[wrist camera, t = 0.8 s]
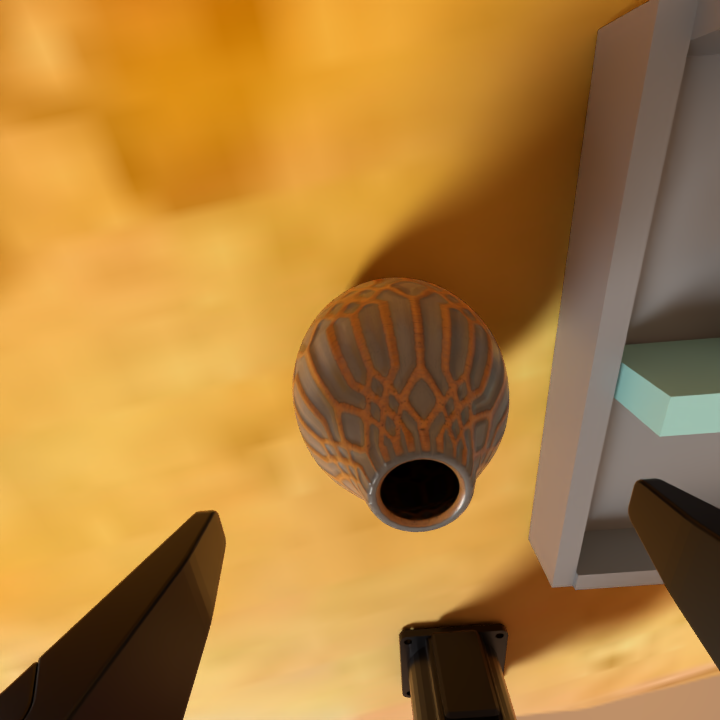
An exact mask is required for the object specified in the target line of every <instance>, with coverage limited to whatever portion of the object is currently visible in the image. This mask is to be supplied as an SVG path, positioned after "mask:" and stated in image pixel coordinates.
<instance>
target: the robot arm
mask: <svg viewBox="0 0 720 720" xmlns="http://www.w3.org/2000/svg"><path fill="white" fill-rule="evenodd" d="M628 514H629V518H630V520H631V522H632V524H633V526H634V528H635V530H636V532H637V534H638V536H639V537H640V539H641V541H642V543H643V545H644V547H645V549H646V551H647V553H648V555H649V556H650V558H651V560H652V562H653V564H654V566H655V568H656V570H657V572H658V573H659V575H660V577H661V579H662V581H663V583H664V584H665V586H666V588H667V590H668V591H669V593H670V595H671V596H672V598H673V600H674V601H675V603H676V604H677V606H678V607H679V609H680V610H681V612H682V614H683V615H684V617H685V618H686V620H687V621H688V623H689V624H690V626H691V627H692V629H693V630H694V632H695V634H696V635H697V637H698V638H699V640H700V641H701V643H702V644H703V646H704V647H705V649H706V650H707V652H708V654H709V655H710V657H711V658H712V660H713V661H714V663H715V664H716V666H717V667H718V669H719V671H720V509H719V508H717V507H715V506H713V505H711V504H709V503H707V502H705V501H703V500H701V499H699V498H697V497H695V496H693V495H691V494H689V493H687V492H685V491H683V490H681V489H679V488H677V487H675V486H673V485H671V484H669V483H667V482H665V481H663V480H661V479H658V478H650V479H639V480H637V481H636V482H635V484H634V487H633V491H632V495H631V498H630V502H629V506H628ZM225 547H226V540H225V535H224V531H223V528H222V524H221V521H220V518H219V515H218V513H217V511H214V510H208V511H198V512H196V513H195V514H193V515H192V516H191V517H190V518H189V519H188V520H187V521H186V522H185V523H184V524H183V525H182V526H181V527H179V528H178V529H177V530H176V531H175V532H174V533H173V534H172V535H171V536H170V537H169V538H168V539H167V540H165V541H164V542H163V543H162V544H161V545H160V546H159V547H158V548H157V549H156V550H155V551H154V552H153V553H152V554H150V555H149V556H148V557H147V558H146V559H145V560H144V561H143V562H142V563H141V564H140V565H139V566H138V567H136V568H135V569H134V570H133V571H132V572H131V573H130V574H129V575H128V576H127V577H126V578H125V579H124V580H122V581H121V582H120V583H119V584H118V585H117V586H116V587H115V588H114V589H113V590H112V591H111V592H110V593H109V594H107V595H106V596H105V597H104V598H103V599H102V600H101V601H100V602H99V603H98V604H97V605H96V606H95V607H93V608H92V609H91V610H90V611H89V612H88V613H87V614H86V615H85V616H84V617H83V618H82V619H81V620H80V621H78V622H77V623H76V624H75V625H74V626H73V627H72V628H71V629H70V630H69V631H68V632H67V633H66V634H64V635H63V636H62V637H61V638H60V639H59V640H58V641H57V642H56V643H55V644H54V645H53V646H52V647H50V648H49V649H48V650H47V651H46V652H45V653H44V654H43V655H42V656H41V657H40V658H39V660H38V662H35V663H33V664H32V665H31V666H30V667H29V668H28V669H27V670H26V671H24V672H23V673H22V674H21V675H20V676H19V677H18V678H17V679H16V680H15V681H14V682H13V683H12V684H10V685H9V686H8V687H7V688H6V689H5V690H4V691H3V692H2V693H1V694H0V720H183V718H184V714H185V711H186V708H187V704H188V701H189V697H190V694H191V691H192V687H193V684H194V680H195V677H196V674H197V670H198V667H199V663H200V660H201V657H202V653H203V650H204V646H205V643H206V640H207V636H208V633H209V629H210V625H211V621H212V616H213V612H214V607H215V601H216V596H217V591H218V585H219V580H220V574H221V569H222V564H223V558H224V553H225ZM507 639H508V633H507V630H506V627H505V626H504V625H502V624H489V625H475V626H460V627H446V628H431V629H416V630H405V631H402V632H401V633H400V634H399V644H400V661H401V679H402V692H403V696H405V697H409V698H411V703H412V712H413V720H517V719H516V716H515V713H514V709H513V706H512V703H511V699H510V696H509V693H508V689H507V686H506V683H505V679H504V676H503V672H504V664H505V656H506V647H507Z"/></svg>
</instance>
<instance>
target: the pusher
mask: <svg viewBox="0 0 720 720" xmlns="http://www.w3.org/2000/svg"><path fill="white" fill-rule="evenodd" d="M614 398H615V399H616V400H617V401H619V402H620V403H621V404H622V405H623V406H624V407H626V408H627V409H628V410H629V411H630V412H631V413H633V414H634V415H635V416H636V417H637V418H638V419H640V420H641V421H642V422H643V423H644V424H645V425H647V426H648V427H649V428H650V429H651V430H652V431H653V432H655V433H656V434H657V435H658V436H659V437H662V436H676V435H689V434H703V433H716V432H720V338H707V339H694V340H681V341H668V342H655V343H642V344H629V345H625V346H624V351H623V356H622V360H621V365H620V369H619V374H618V379H617V383H616V388H615V393H614Z"/></svg>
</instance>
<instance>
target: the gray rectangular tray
mask: <svg viewBox="0 0 720 720" xmlns="http://www.w3.org/2000/svg"><path fill="white" fill-rule="evenodd" d="M707 338H720V0H649V1H648V2H646V3H644V4H642V5H641V6H639V7H637V8H635V9H634V10H632V11H630V12H628V13H627V14H625V15H623V16H621V17H620V18H618V19H616V20H614V21H613V22H611V23H609V24H607V25H606V26H604V27H602V28H600V29H599V30H598V35H597V42H596V49H595V57H594V64H593V71H592V79H591V86H590V93H589V101H588V108H587V115H586V123H585V130H584V137H583V145H582V152H581V159H580V166H579V174H578V181H577V188H576V196H575V203H574V210H573V218H572V225H571V232H570V240H569V247H568V254H567V261H566V269H565V276H564V283H563V291H562V298H561V305H560V313H559V320H558V327H557V335H556V342H555V349H554V356H553V364H552V371H551V378H550V386H549V393H548V400H547V408H546V415H545V422H544V430H543V437H542V444H541V452H540V459H539V466H538V473H537V481H536V488H535V495H534V503H533V510H532V517H531V525H530V532H529V541H530V543H531V546H532V548H533V550H534V552H535V554H536V556H537V558H538V560H539V562H540V564H541V566H542V568H543V570H544V572H545V575H546V577H547V579H548V581H549V583H550V585H551V587H552V588H553V587H567V586H573V587H574V589H575V590H583V589H597V588H611V587H626V586H640V585H655V584H664V583H663V581H662V579H661V577H660V575H659V573H658V572H657V570H656V568H655V566H654V564H653V562H652V560H651V558H650V556H649V555H648V553H647V551H646V549H645V547H644V545H643V543H642V541H641V539H640V537H639V536H638V534H637V532H636V530H635V528H634V526H633V524H632V522H631V520H630V518H629V514H628V506H629V502H630V498H631V495H632V491H633V487H634V484H635V482H636V481H637V480H639V479H650V478H658V479H661V480H663V481H665V482H667V483H669V484H671V485H673V486H675V487H677V488H679V489H681V490H683V491H685V492H687V493H689V494H691V495H693V496H695V497H697V498H699V499H701V500H703V501H705V502H707V503H709V504H711V505H713V506H715V507H717V508H719V509H720V432H716V433H703V434H689V435H676V436H662V437H659V436H658V435H657V434H656V433H655V432H653V431H652V430H651V429H650V428H649V427H648V426H647V425H645V424H644V423H643V422H642V421H641V420H640V419H638V418H637V417H636V416H635V415H634V414H633V413H631V412H630V411H629V410H628V409H627V408H626V407H624V406H623V405H622V404H621V403H620V402H619V401H617V400H616V399H615V398H614V393H615V388H616V383H617V379H618V374H619V369H620V365H621V360H622V356H623V351H624V346H625V345H629V344H642V343H655V342H668V341H681V340H694V339H707Z"/></svg>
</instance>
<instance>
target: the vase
mask: <svg viewBox="0 0 720 720" xmlns="http://www.w3.org/2000/svg"><path fill="white" fill-rule="evenodd" d="M293 403H294V409H295V414H296V419H297V422H298V426H299V429H300V432H301V434H302V437H303V439H304V441H305V444H306V446H307V448H308V450H309V451H310V453H311V455H312V456H313V458H314V459H315V461H316V462H317V463H318V465H319V466H320V467H321V468H322V470H323V471H324V472H325V473H326V474H327V475H328V476H329V477H330V478H331V479H333V480H334V481H335V482H336V483H337V484H339V485H340V486H342V487H343V488H344V489H346V490H348V491H349V492H351V493H352V494H354V495H356V496H358V497H359V498H361V499H363V500H365V502H366V503H367V505H368V506H369V508H370V509H371V511H372V512H373V513H374V514H375V515H376V516H377V518H379V519H380V520H381V521H382V522H384V523H385V524H387V525H389V526H391V527H393V528H396V529H399V530H403V531H409V532H424V531H430V530H434V529H438V528H440V527H443V526H445V525H447V524H449V523H451V522H452V521H454V520H455V519H457V518H458V517H459V516H460V515H461V514H462V513H463V512H464V511H465V509H466V508H467V507H468V505H469V503H470V501H471V499H472V496H473V492H474V488H475V482H476V479H477V477H478V476H479V475H480V474H481V472H482V471H483V470H484V469H485V467H486V466H487V465H488V463H489V462H490V460H491V459H492V457H493V456H494V454H495V452H496V450H497V449H498V446H499V444H500V442H501V439H502V437H503V434H504V431H505V428H506V423H507V418H508V412H509V386H508V377H507V372H506V368H505V364H504V360H503V357H502V354H501V351H500V349H499V347H498V344H497V342H496V340H495V338H494V336H493V335H492V333H491V332H490V330H489V329H488V327H487V326H486V324H485V323H484V322H483V321H482V319H481V318H480V317H479V316H478V315H477V314H476V313H475V312H474V311H473V310H472V309H471V308H470V307H469V306H468V305H467V304H466V303H465V302H464V301H462V300H461V299H460V298H458V297H457V296H455V295H454V294H452V293H451V292H449V291H448V290H446V289H444V288H442V287H440V286H437V285H435V284H432V283H429V282H426V281H422V280H417V279H411V278H401V277H392V278H382V279H376V280H372V281H368V282H365V283H362V284H360V285H357V286H355V287H353V288H351V289H349V290H347V291H346V292H344V293H343V294H341V295H340V296H338V297H337V298H335V299H334V300H333V301H332V302H330V303H329V304H328V305H327V306H326V307H325V308H324V309H323V310H322V311H321V312H320V314H319V315H318V316H317V317H316V319H315V320H314V321H313V323H312V325H311V326H310V328H309V330H308V331H307V333H306V335H305V337H304V339H303V342H302V344H301V347H300V350H299V352H298V356H297V359H296V363H295V369H294V374H293Z"/></svg>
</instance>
